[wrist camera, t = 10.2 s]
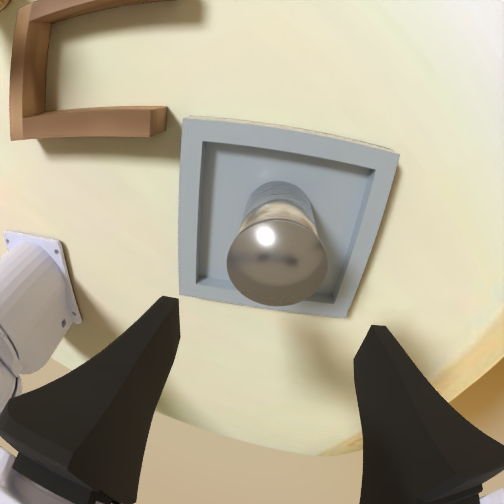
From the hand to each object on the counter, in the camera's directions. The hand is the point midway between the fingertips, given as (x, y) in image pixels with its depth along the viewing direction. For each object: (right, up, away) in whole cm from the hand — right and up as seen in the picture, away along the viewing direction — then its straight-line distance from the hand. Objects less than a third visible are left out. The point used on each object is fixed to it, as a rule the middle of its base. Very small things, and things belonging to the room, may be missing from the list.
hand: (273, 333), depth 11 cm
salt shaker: (+1, +5, +7) cm, 9 cm away
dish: (+1, +5, +8) cm, 10 cm away
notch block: (-11, +15, +3) cm, 19 cm away
